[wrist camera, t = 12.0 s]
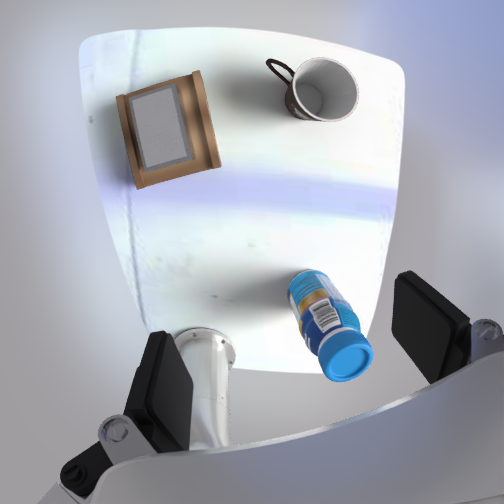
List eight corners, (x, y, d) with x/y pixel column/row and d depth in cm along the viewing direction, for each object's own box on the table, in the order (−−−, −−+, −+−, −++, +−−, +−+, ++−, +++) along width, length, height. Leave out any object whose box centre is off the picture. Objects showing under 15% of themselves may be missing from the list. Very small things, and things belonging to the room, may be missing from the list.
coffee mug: (341, 111, 39) (370, 104, 30) (297, 136, 40) (318, 134, 31) (300, 52, 35) (320, 29, 26) (255, 76, 36) (263, 56, 27)
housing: (181, 90, 33) (174, 82, 28) (196, 158, 36) (191, 160, 31) (139, 103, 33) (127, 97, 28) (154, 170, 36) (144, 173, 31)
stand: (221, 165, 41) (221, 167, 36) (146, 185, 41) (136, 189, 36) (202, 78, 36) (199, 70, 31) (127, 101, 36) (115, 96, 31)
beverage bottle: (337, 271, 49) (391, 338, 30) (322, 311, 52) (362, 386, 33) (293, 264, 48) (332, 335, 29) (280, 306, 50) (307, 387, 32)
